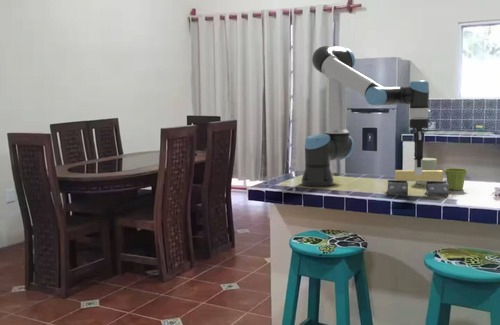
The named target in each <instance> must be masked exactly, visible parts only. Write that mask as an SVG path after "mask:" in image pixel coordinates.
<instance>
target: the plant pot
mask: <svg viewBox="0 0 500 325" xmlns="http://www.w3.org/2000/svg"><path fill="white" fill-rule="evenodd" d="M443 171H444V172H445V175H446V176H445V177H446V181H447V184H449V190H453V191H461V190H463V189H464V183H465V178H466V175H467V172H468V169H465V168H451V167H450V168H444V169H443Z"/></svg>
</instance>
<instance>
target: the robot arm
mask: <svg viewBox="0 0 500 325" xmlns="http://www.w3.org/2000/svg"><path fill="white" fill-rule="evenodd" d="M311 60H312V61H311V62H312V65H313V67H314V68H315V69H316V71H318V72H319V73H321V74H323V75H324V76H325V77H326V78H327V79H328V98H327V100H328V101H327V102H328V105H327V106H328V115H327V116H328V122H327V123H328V124H327V125H328V128H327V130H326V131H325V133H319V134H313V135H309V136H307V137H305V139H304V140H305V142H304V161H305V162H304V170H303V175H302V177H301V185H302V186H305V187H318V188H321V187H329V186H333V185H334V178H333V174H332V170H331V161H336V160H338V161H339V160H344V159H347V158H348V157H350V156H351V155H352V154H353V152H354V148H355V142H354V140H353V137H351V136H350V131H349V130H348V129H347V87H348V88H349V89H351V90H352V91H355V93H358V94H359V95H360V96H362V97H363V98H365V100H366V102H367V104H369V105H371V106H377V107H379V106H390V105H393V106H394V105H395V106H396V105H409V113H408V114H409V115H408V116H409V118H410V119H409V124H408V125H409V126H408V127H409V128H410V129H415V131H414V132H413V142H414V153H413V154H414V155H413V157H414V158H413V160H414V170H415V175H422V159H423V158H424V155H423V154H424V136H425V132H423V129H428V128H429V122H430V121H429V113H431V110H430V108H429V101H430V99H429V98H430V97H429V96H430V85H429V82H428V81H427V80H414V81H410V82H409V86H408V85H407V86H383V85H381V84H379V83H377V82H376V81H374V80H373V79H371V78H369V77H367V76H365V75H364V74H362V73H360V72H359V71H357V70H355V69H354V67H355V64H356V57H355V54H354V53H353V51H352V50H351V49H350V48H348V47H344V46H330V45H323V46H320V47H318V48H317V49H316V50H315V51H314V52H313V54H312V58H311Z"/></svg>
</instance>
